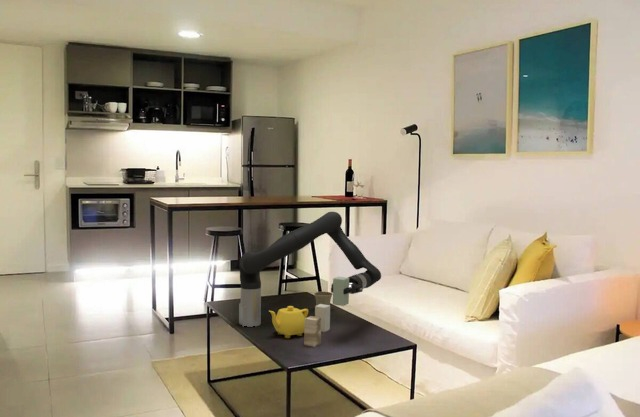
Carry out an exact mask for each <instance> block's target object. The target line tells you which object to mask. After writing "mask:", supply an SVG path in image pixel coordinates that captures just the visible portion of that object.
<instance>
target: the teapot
mask: <svg viewBox="0 0 640 417" xmlns="http://www.w3.org/2000/svg"><path fill="white" fill-rule="evenodd" d="M268 312H270V314H271V322H272V325H273V327H274V329H275V331H276V332H277V335H284V338H285V339H290V338H291V336H295V335H296V336H297V337H302V336H303V333H304V329H305V318H307V317H308V314H309V309H308V308H303V309H299V308H296V307H294V306H293V305H288V306H287V307H285V308H284V307H283V308H280V309H278V311H277V313H276V312H275V311H273V310H268Z"/></svg>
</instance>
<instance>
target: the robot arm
mask: <svg viewBox="0 0 640 417" xmlns="http://www.w3.org/2000/svg"><path fill="white" fill-rule="evenodd" d="M342 223H343V217H342V215H341V214H340V213H338V212H337V211H328V212H326V213H324V214H323V215H322V216H321V217H318V218H317V219H316V220H314V221H312V222H310V223H308V224H305V225H303V226H301V227H298V228H296V229H294V230H292V231H289V232H288V233H286V234H284V235H282V236H281V237H279V238H278V239H276V240H275V241H274V242H273V243H271V245H269V246H267V248H264V249H262V250H260V251H257V252H254V251H247V252H246V251H245V252H244V253H243V254H242V255H241V257H240V259H239V260H240V261H239V281H240V302H239V303H238V324H239V325H240V326H241V325H242V326H241V327H242V328H244V326H247V327H246V328H251V327H252V328H253V326H255V327H258V326H261V321H262V320H261V314H262V313H261V312H262V311H261V310H262V308H261V306H262V305H261V304H262V281H261V276H260V275H261V271H262V270H264V269H266V268H267V267H268V266H270V265H271V264H273V263H275V262H277V261H279V260H281V259H283V258H286V257H287V256H290V255H292V254H294V253H297V251H300V250H301V249H303V248H305V247H306V246H308V245H309V244H311V243H312V242H313V241H315V240H316V239H317V238H319V237H321V236H323V235H325V234H327V235H328V236H329V237H330V238H331V239H332V240H333V241H334V243H335V244H336V245H337V246H338V247H339V249H340V250H341V252H342V253H343V254H344V256H345V258H346V259H347V260H348V262H349V263H350V264H351V266H352V267H353V268H354V269H355V270H361V269H363V268H364V269H365V271H363V272H359V273H355V274H353V275H351V276H348V277H347V278H349V287H348V288H345V289H344V290H343V294H347V293H349V295H354V294H358V293H361V292H362V293H363V292H364V291H363V290H364V289H368V288H370V287H372V286H373V285H374V284H377V283H378V282H379V281H380V280H381V278H382V272H381V271H380V270H379V269H378V267H377V266H375V265H374V264H373V263H371V262H370V261H369V260H368V259H367V258H366V257H365V255H364V254H363V253H362V250H360V249H359V247H358V246H357V245H356V244H355V243H354V242H353V241H351V239H350V238H349V237H348V236H347V235H346V234H345V232H344V230H343V228H342V227H341V226H342ZM330 293H332V294H333V283H332V284H331V288H330Z"/></svg>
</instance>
